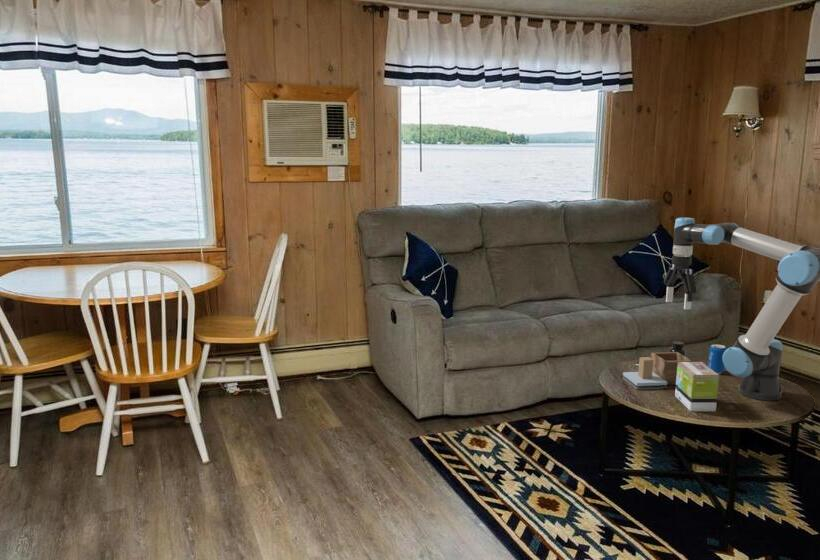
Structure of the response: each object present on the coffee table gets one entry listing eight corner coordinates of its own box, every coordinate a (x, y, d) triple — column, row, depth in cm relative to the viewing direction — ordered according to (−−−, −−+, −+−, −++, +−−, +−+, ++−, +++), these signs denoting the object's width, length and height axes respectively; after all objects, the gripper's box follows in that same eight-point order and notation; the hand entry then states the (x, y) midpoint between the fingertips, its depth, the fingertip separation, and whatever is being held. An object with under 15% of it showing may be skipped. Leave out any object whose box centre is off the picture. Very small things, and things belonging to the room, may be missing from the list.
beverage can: (704, 370, 285) (706, 344, 282) (716, 369, 286) (719, 343, 284) (714, 375, 279) (716, 348, 276) (726, 374, 280) (729, 347, 278)
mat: (666, 388, 262) (667, 387, 262) (636, 389, 261) (636, 388, 261) (651, 377, 275) (651, 376, 275) (622, 378, 273) (622, 377, 273)
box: (690, 383, 268) (692, 360, 266) (662, 384, 266) (664, 361, 265) (675, 374, 279) (677, 352, 278) (649, 374, 278) (650, 352, 276)
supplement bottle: (681, 366, 290) (683, 340, 287) (686, 371, 283) (688, 345, 281) (665, 365, 290) (668, 340, 288) (670, 370, 284) (672, 344, 281)
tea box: (673, 396, 254) (677, 360, 251) (699, 397, 254) (702, 361, 251) (689, 411, 239) (693, 373, 236) (716, 412, 239) (720, 374, 236)
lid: (667, 387, 262) (669, 363, 260) (636, 388, 260) (638, 364, 259) (651, 376, 275) (653, 353, 273) (622, 377, 273) (624, 354, 271)
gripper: (657, 251, 278) (654, 299, 281) (691, 260, 253) (686, 312, 257) (673, 251, 279) (670, 298, 283) (708, 259, 255) (704, 311, 258)
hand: (678, 305), depth 270 cm, fingers open, 13 cm apart
